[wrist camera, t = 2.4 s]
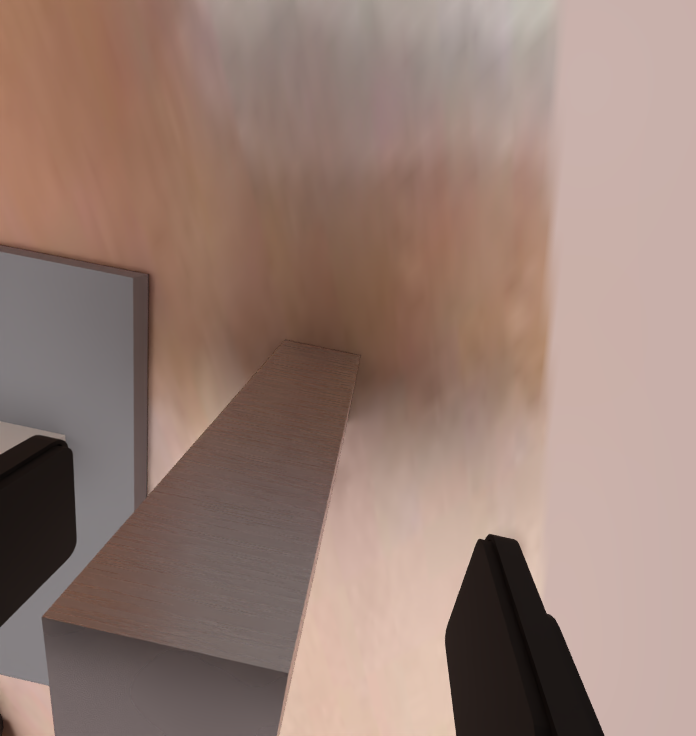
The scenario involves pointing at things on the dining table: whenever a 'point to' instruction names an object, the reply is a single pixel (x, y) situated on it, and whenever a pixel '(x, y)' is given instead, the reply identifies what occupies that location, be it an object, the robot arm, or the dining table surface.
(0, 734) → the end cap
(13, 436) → the tile
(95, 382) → the mat
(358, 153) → the dining table surface
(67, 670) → the metal bar
